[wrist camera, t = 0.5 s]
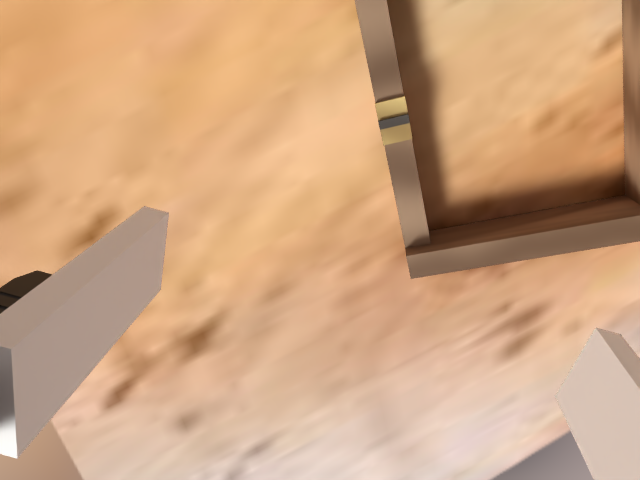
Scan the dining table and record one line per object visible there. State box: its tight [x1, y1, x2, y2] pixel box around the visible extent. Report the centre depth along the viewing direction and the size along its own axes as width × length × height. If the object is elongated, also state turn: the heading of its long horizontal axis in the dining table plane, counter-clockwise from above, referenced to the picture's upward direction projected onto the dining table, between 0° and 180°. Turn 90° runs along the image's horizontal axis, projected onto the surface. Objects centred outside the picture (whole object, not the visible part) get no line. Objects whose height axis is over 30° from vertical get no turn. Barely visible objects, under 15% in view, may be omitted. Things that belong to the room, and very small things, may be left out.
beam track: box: [355, 0, 640, 279], centre depth 31 cm, size 30×19×4 cm, turn 14°
